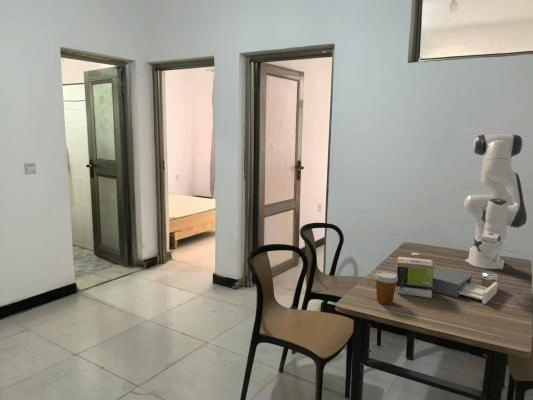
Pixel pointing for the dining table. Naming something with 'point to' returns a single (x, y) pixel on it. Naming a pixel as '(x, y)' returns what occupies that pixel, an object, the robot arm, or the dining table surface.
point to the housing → (449, 281)
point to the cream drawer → (478, 291)
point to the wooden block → (487, 283)
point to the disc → (489, 276)
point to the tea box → (414, 277)
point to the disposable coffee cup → (385, 286)
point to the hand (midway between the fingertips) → (491, 264)
